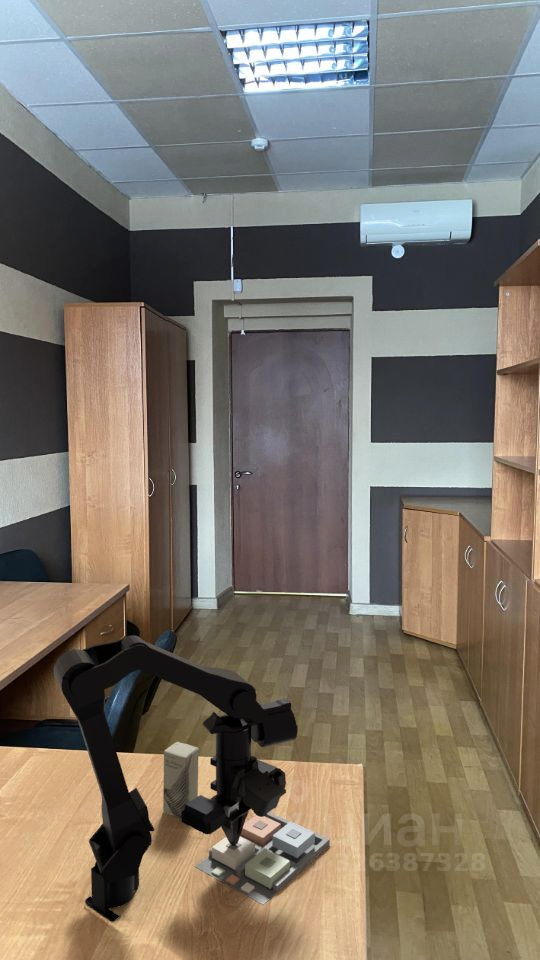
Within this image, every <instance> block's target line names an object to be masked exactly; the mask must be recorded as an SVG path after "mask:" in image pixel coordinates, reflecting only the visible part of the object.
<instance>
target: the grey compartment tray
mask: <svg viewBox="0 0 540 960" xmlns="http://www.w3.org/2000/svg"><path fill="white" fill-rule="evenodd" d="M265 817H267V818H269V819H271V820H274V821H276V822H278V823H280V824H281V829H282V828H283V827H284V826H285V825H287V824H288V823H289V822H291V821H290V820H288V819H285V818H284V817H281V816H279V815H276V814H274V813H272V812H271V811H270V812H268V813H267V814H266V815H265ZM240 837H242V836H240ZM242 838H244V837H242ZM244 839H246V838H244ZM246 840H248V839H246ZM248 841H250V840H248ZM330 841H331V840H330V838H328V837H326V836H324V835H322V834H319V833H317V832H315V843H314V844H313V845H312V846H311V847H309V848H308V849H307V850H306V851H305V852H304V853H303V854H301V855H300V856H299V857H298V858H296V857H294V856H292V855H290V854H288V853H286V852H284V851H281V850H279V849H277V848H275V847H273V846H272V840H271V841H270V842H269V843H268V844H266V845H265V846H264V847H262V846H260V845H258V844H256V843H254V842H252V841H250V842H252V843H254V844H255V854H254V855H253V856H251V857H250V858H249V859H248V860H246V861H245V862H244V863H243V864H241V865H240V866H239V867H238V868H236V870H234V869H232V868H230V867H229V866H227V865H225V864H223V863H221V862H219V861H217V860H215V859H214V858H212V847H211V848H210V849H208V856H207V857H205V858H204V859H203V860H201V861H200V862H199V863H197V864H196V865H195V866H194V868H195V869H198V870H199V871H201V872H203V873H205V874H207V875H208V876H210V877H212V878H214V879H216V880H218V881H220V882H221V883H223V884H225V885H227V886H229V887H230V888H232V889H234V890H236V891H237V892H239V893H241V894H243V895H245V896H246V897H248V898H250V899H251V900H253V901H255V902H257V903H259V904H261V905H262V906H264V905H265V904H266V903H268V901H270V899H272V898H273V897H274V896H275V895H276V894H277V893H278V892H280V891H281V890H282V889H283V888H284V887H285V886H286V885H287V884H288V883H289V882H290V881H291V880H293V878H295V877H296V876H297V875H298V874H300V872H302V871H303V870H304V869H305V868H306V867H307V866H308V865H309V864H310V863H311V862H313V861H314V860H315V859H316V858H317V857H318V856H319V855H320V854H322V853H323V852H324V851H326V849H327V848H328V847H330V844H331V843H330ZM264 849H267V850H269V851H271V852H273V853H275V854H277V855H279V856H281V857H283V858H285V859H287V860H289V861H290V869H289V870H288V871H287V872H286V873H285V874H284V875H282V876H281V877H280V878H279V879H278V880H277V881H276V882H275V883H273V887H272V888H271V889H270V888H268V887H266V886H264V885H262V884H260V883H259V882H257V881H255V880H253V879H251V878H249V877H247V876H245V864H246V863H248V862H249V861H250V860H251V859H253V858H254V857H255V856H256V855H258V854H259V853H260V852H261V851H263V850H264Z"/></svg>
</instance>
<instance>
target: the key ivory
mask: <svg viewBox="0 0 540 960" xmlns="http://www.w3.org/2000/svg"><path fill="white" fill-rule="evenodd" d="M211 848H212V858H214V859H215V860H217V861H219V862H221V863H223V864H225V865H227V866H229V867H230V868H232V869H234V870H236V868H238V867H239V866H240V865H241V864H243V863H244V862H245V861H246V860H248V859H249V858H250V857H251V856H253V855H254V854H255V844H254V843H252V842H250V841H248V840H246V839H244V838H242V837H240V838H239V841H238V843H237V844H236V845H235V846H233V845H231V844H230V843H229V841H228V839H227V837H226V836H225V837H224V838H222V839H221V840H220V841H218V842H217V843H216V844H214V845H213V846H211Z"/></svg>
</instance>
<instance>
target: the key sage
mask: <svg viewBox="0 0 540 960" xmlns="http://www.w3.org/2000/svg"><path fill="white" fill-rule="evenodd" d="M289 869H290V861H289V860H287V859H285V858H283V857H281V856H279V855H277V854H275V853H273V852H271V851H269V850H267V849H264V850H263V851H261V852H260V853H259V854H258V855H256V856H255V857H254V858H253V859H251V860H250V861H249V862H248V863H246V864H245V876H247V877H249V878H251V879H253V880H255V881H257V882H259V883H260V884H262V885H264V886H266V887H268V888H270V889H271V888H272V887H273V883H275V882H276V881H277V880H278V879H279V878H280V877H281V876H282V875H284V874H285V873H286V872H287V871H288V870H289Z"/></svg>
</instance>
